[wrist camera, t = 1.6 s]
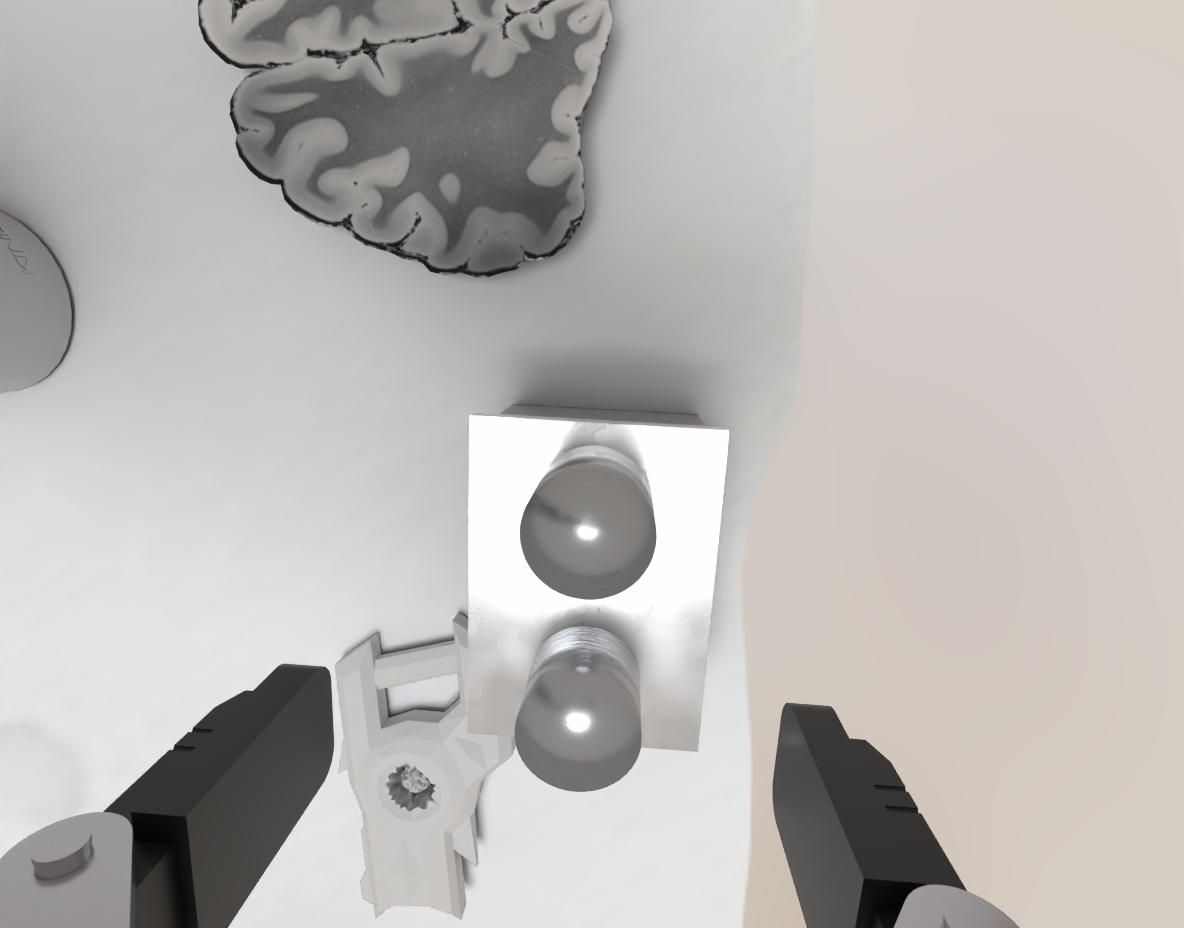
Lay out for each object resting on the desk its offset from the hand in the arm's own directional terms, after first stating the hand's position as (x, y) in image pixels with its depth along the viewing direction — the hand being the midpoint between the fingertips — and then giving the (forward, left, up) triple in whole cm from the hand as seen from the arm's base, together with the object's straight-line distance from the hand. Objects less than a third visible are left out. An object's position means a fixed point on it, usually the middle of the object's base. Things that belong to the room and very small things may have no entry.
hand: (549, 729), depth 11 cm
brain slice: (+6, +19, -22) cm, 30 cm away
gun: (-19, -7, -22) cm, 30 cm away
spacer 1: (0, 0, -14) cm, 14 cm away
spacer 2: (-5, -5, -14) cm, 16 cm away
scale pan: (-3, -3, -15) cm, 16 cm away
